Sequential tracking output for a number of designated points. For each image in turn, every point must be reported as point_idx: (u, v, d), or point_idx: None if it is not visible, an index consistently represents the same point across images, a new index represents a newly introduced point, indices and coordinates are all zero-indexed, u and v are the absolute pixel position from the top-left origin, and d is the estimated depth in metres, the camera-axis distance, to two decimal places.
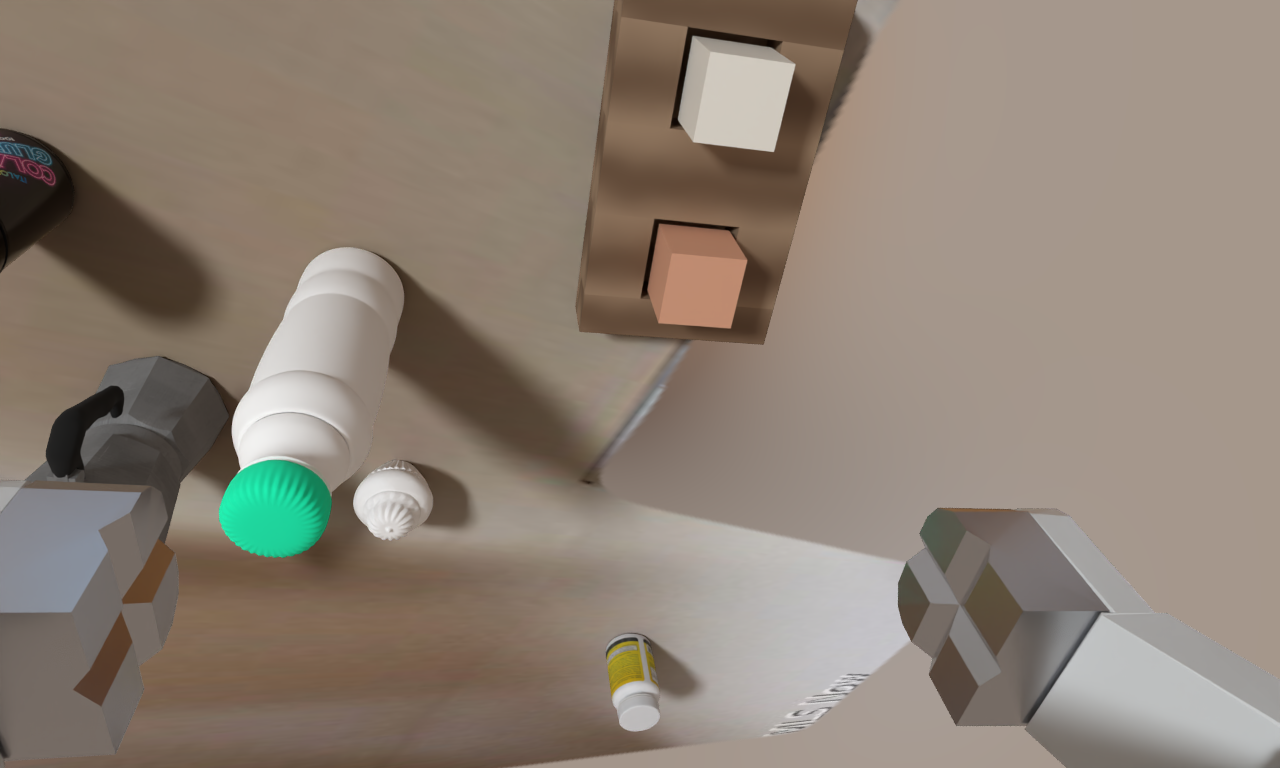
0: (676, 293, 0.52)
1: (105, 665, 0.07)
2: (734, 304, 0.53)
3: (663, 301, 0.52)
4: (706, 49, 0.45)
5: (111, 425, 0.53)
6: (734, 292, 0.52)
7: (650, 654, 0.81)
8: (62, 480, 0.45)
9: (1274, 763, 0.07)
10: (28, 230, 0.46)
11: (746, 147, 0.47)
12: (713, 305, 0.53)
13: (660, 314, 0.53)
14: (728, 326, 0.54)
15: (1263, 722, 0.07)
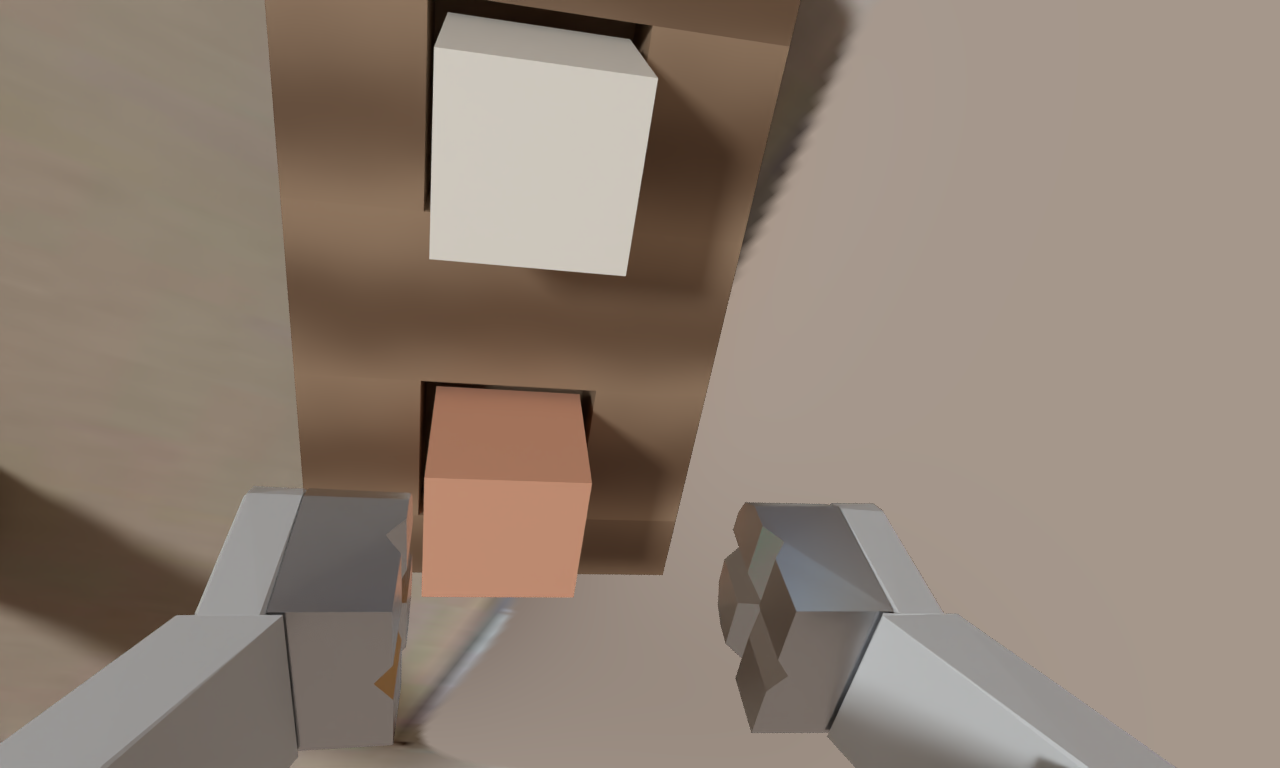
0: (449, 547, 0.25)
1: None
2: (575, 558, 0.26)
3: (424, 560, 0.25)
4: None
5: None
6: (572, 539, 0.26)
7: None
8: None
9: None
10: None
11: (559, 268, 0.21)
12: (532, 562, 0.26)
13: (423, 581, 0.26)
14: (568, 594, 0.27)
15: (1027, 731, 0.06)
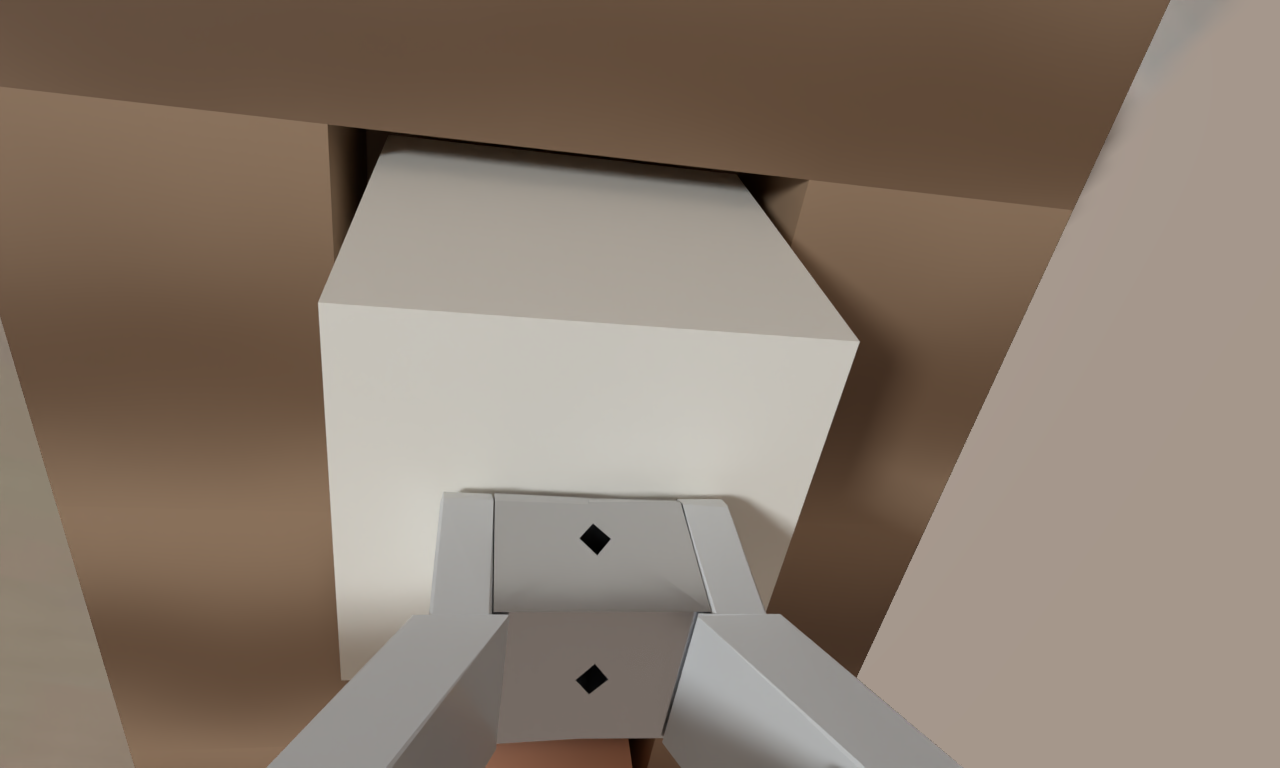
0: None
1: None
2: None
3: None
4: (338, 261, 0.08)
5: None
6: None
7: None
8: None
9: None
10: None
11: None
12: None
13: None
14: None
15: (823, 738, 0.06)
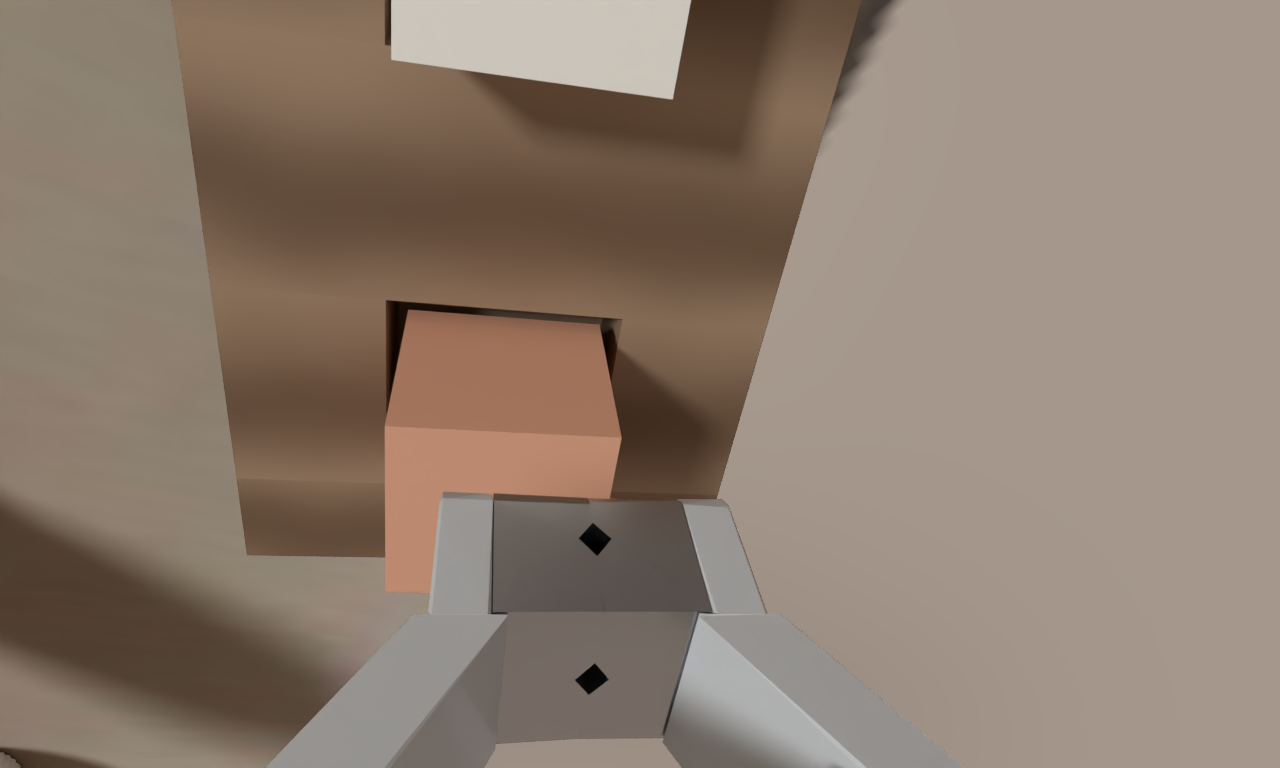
0: (422, 524, 0.18)
1: None
2: None
3: (387, 542, 0.18)
4: None
5: None
6: None
7: None
8: None
9: None
10: None
11: (579, 82, 0.14)
12: None
13: (387, 572, 0.19)
14: None
15: (824, 738, 0.06)
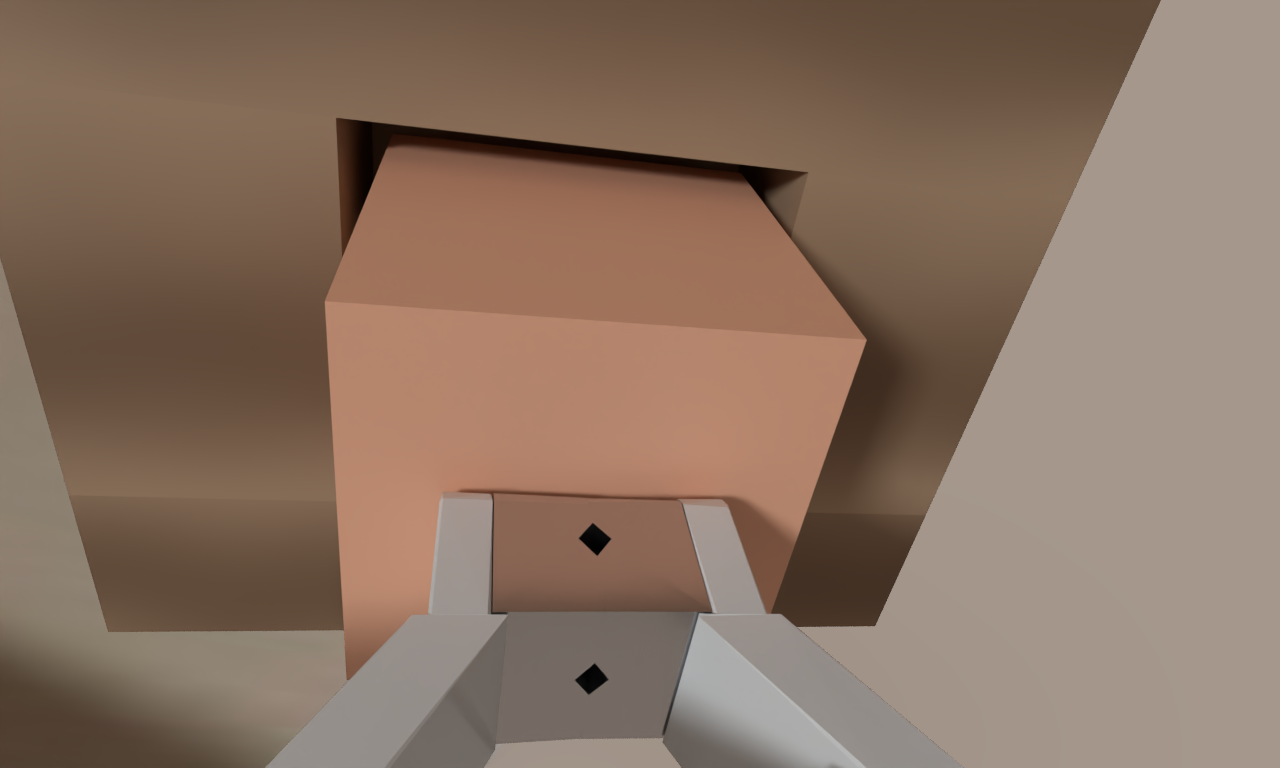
0: (419, 542, 0.08)
1: None
2: (773, 573, 0.09)
3: (346, 580, 0.09)
4: None
5: None
6: (775, 518, 0.09)
7: None
8: None
9: None
10: None
11: None
12: None
13: (349, 640, 0.09)
14: None
15: (824, 738, 0.06)
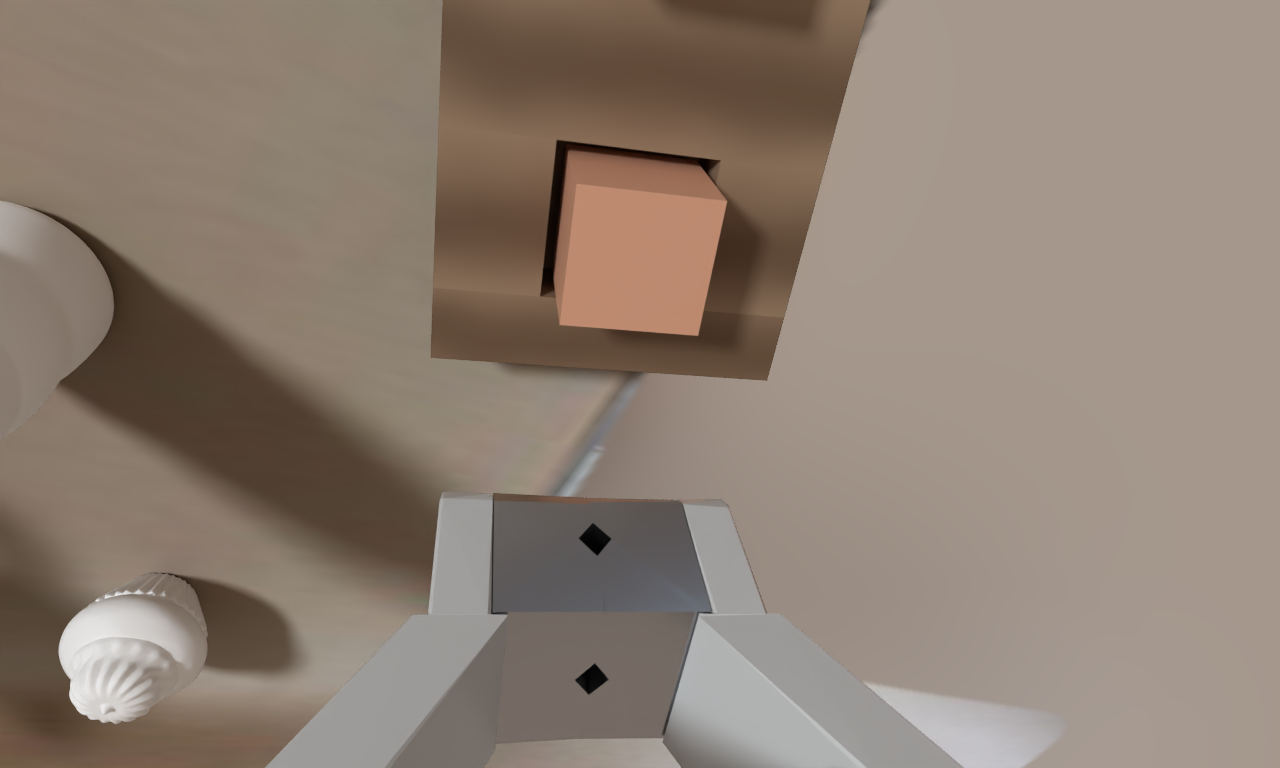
0: (590, 267, 0.27)
1: None
2: (704, 289, 0.28)
3: (566, 281, 0.27)
4: None
5: None
6: (703, 266, 0.27)
7: None
8: None
9: None
10: None
11: None
12: (664, 290, 0.28)
13: (562, 308, 0.28)
14: (693, 332, 0.29)
15: (824, 738, 0.06)
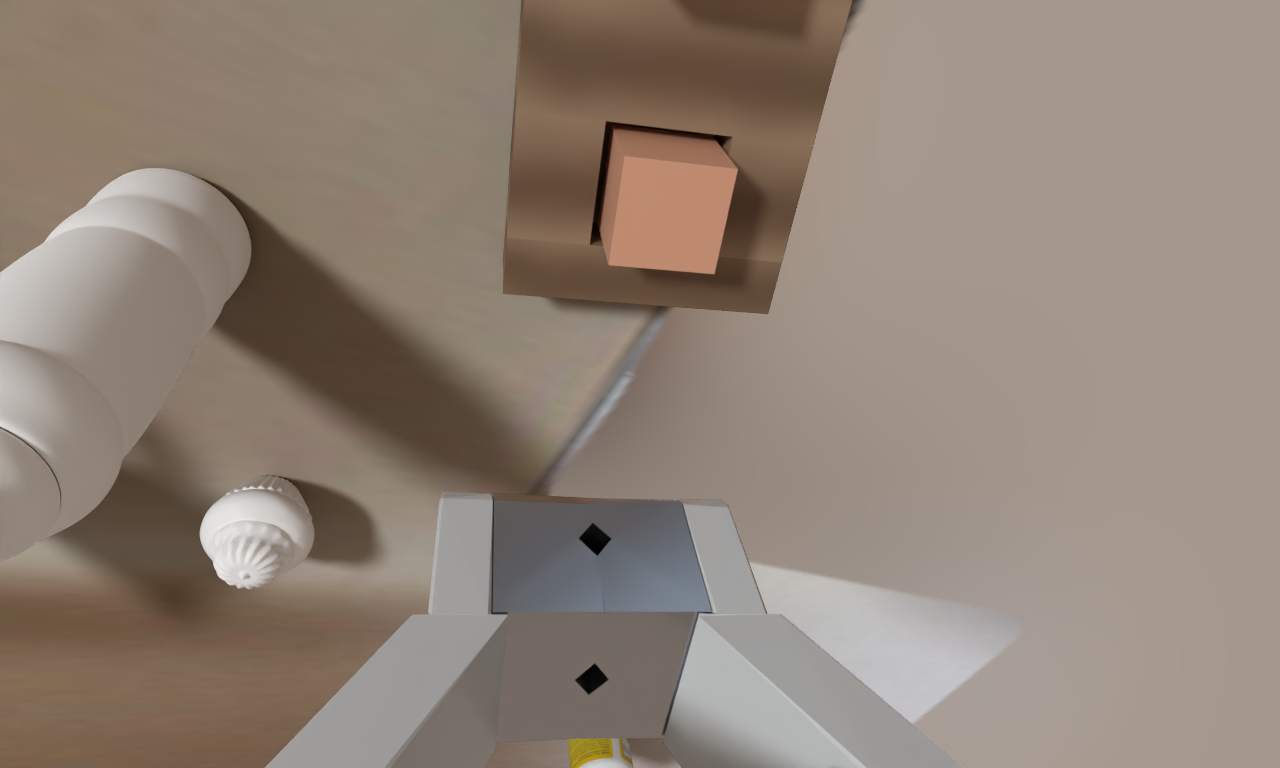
0: (633, 220, 0.35)
1: None
2: (719, 237, 0.36)
3: (614, 231, 0.35)
4: None
5: None
6: (719, 219, 0.36)
7: None
8: None
9: None
10: None
11: None
12: (689, 238, 0.36)
13: (611, 252, 0.36)
14: (711, 271, 0.37)
15: (824, 737, 0.06)
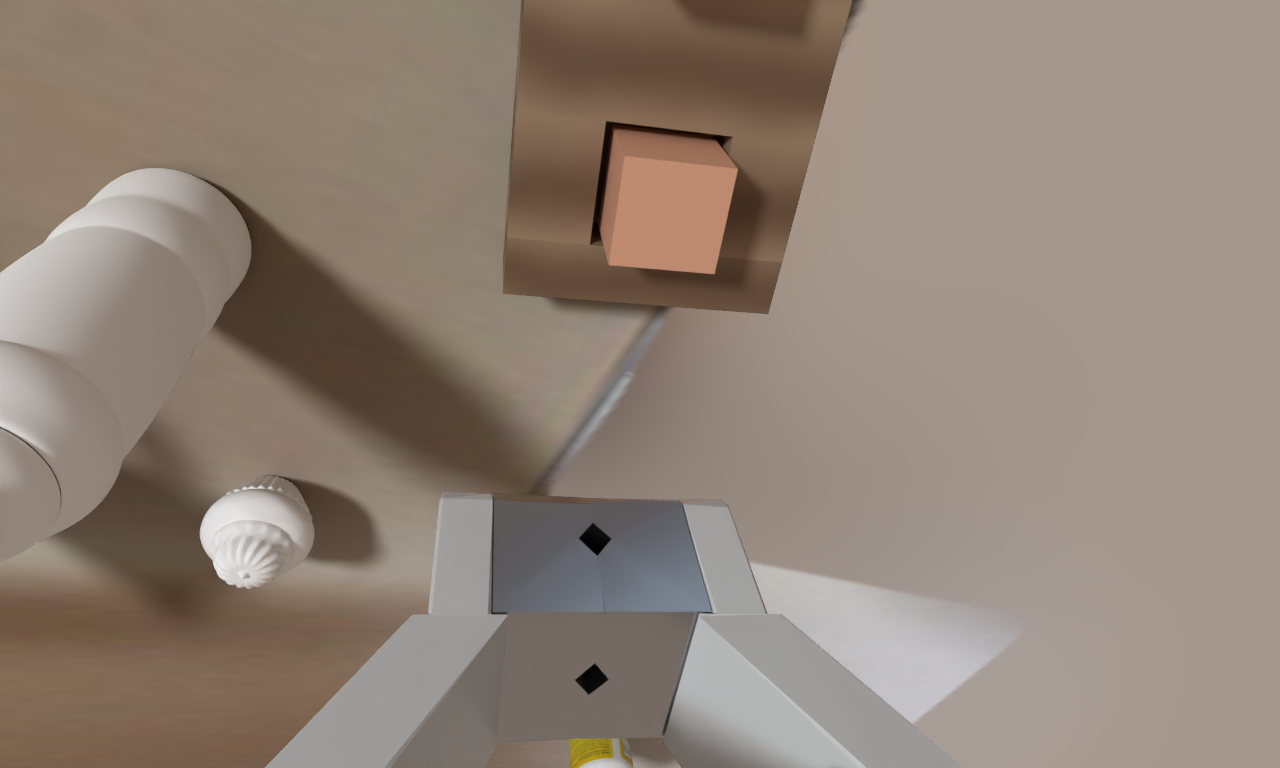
0: (633, 220, 0.35)
1: None
2: (719, 237, 0.36)
3: (614, 231, 0.35)
4: None
5: None
6: (719, 219, 0.36)
7: None
8: None
9: None
10: None
11: None
12: (689, 238, 0.36)
13: (611, 251, 0.36)
14: (711, 271, 0.37)
15: (824, 738, 0.06)
